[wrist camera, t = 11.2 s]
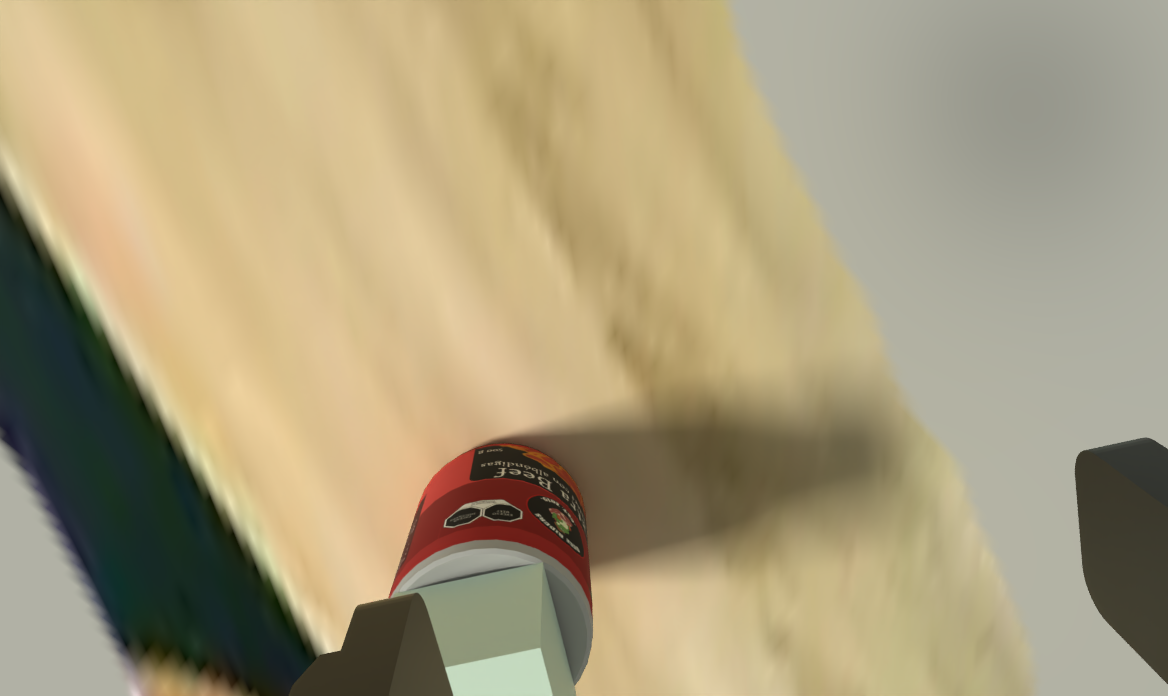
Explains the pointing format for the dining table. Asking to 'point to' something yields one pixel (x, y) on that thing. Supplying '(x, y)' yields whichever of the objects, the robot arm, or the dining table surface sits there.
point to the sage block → (499, 634)
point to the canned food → (506, 533)
